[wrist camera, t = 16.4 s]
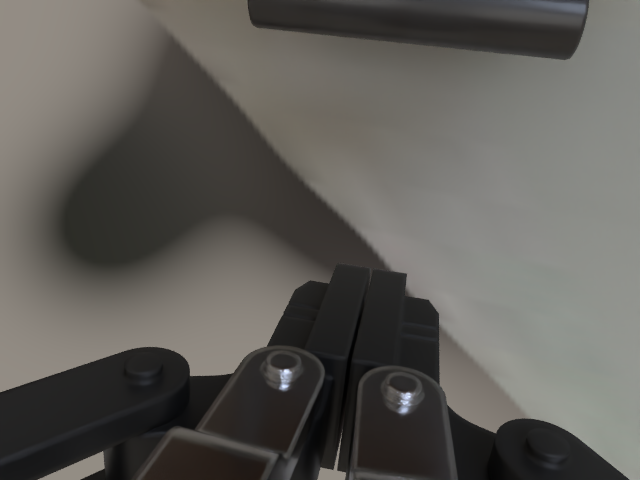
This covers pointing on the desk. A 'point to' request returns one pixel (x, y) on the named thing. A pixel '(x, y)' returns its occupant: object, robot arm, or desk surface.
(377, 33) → the drawer
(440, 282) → the desk surface
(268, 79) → the desk surface
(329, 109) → the desk surface
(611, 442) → the desk surface
